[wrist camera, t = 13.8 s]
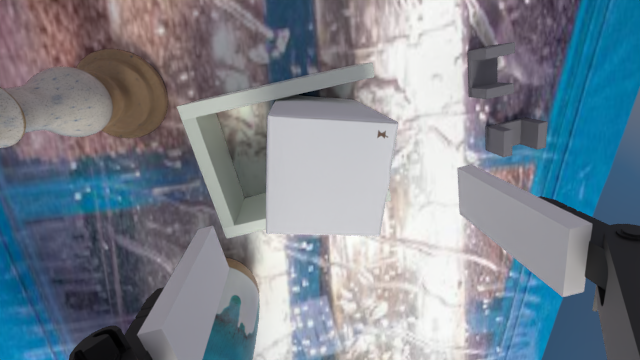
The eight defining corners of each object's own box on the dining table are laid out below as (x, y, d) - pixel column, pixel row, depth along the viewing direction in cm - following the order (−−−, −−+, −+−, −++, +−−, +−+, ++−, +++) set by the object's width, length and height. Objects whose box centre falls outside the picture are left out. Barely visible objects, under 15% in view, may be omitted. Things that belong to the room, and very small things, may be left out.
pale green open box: (237, 208, 37) (226, 238, 30) (200, 99, 32) (176, 106, 25) (373, 177, 37) (390, 200, 30) (355, 64, 32) (372, 62, 26)
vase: (178, 302, 41) (89, 486, 23) (187, 236, 37) (92, 389, 19) (255, 313, 42) (230, 490, 25) (271, 251, 39) (255, 402, 21)
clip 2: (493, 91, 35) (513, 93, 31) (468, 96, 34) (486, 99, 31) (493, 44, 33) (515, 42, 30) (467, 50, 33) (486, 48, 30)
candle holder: (131, 32, 29) (-166, -40, 10) (186, 112, 32) (36, 172, 13) (58, 76, 30) (-345, 85, 11) (119, 150, 33) (-114, 258, 14)
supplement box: (275, 92, 32) (264, 109, 18) (356, 98, 33) (403, 118, 19) (273, 171, 35) (262, 236, 21) (347, 174, 36) (382, 239, 22)
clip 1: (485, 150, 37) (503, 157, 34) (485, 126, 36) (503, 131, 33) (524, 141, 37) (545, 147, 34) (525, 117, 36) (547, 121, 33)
